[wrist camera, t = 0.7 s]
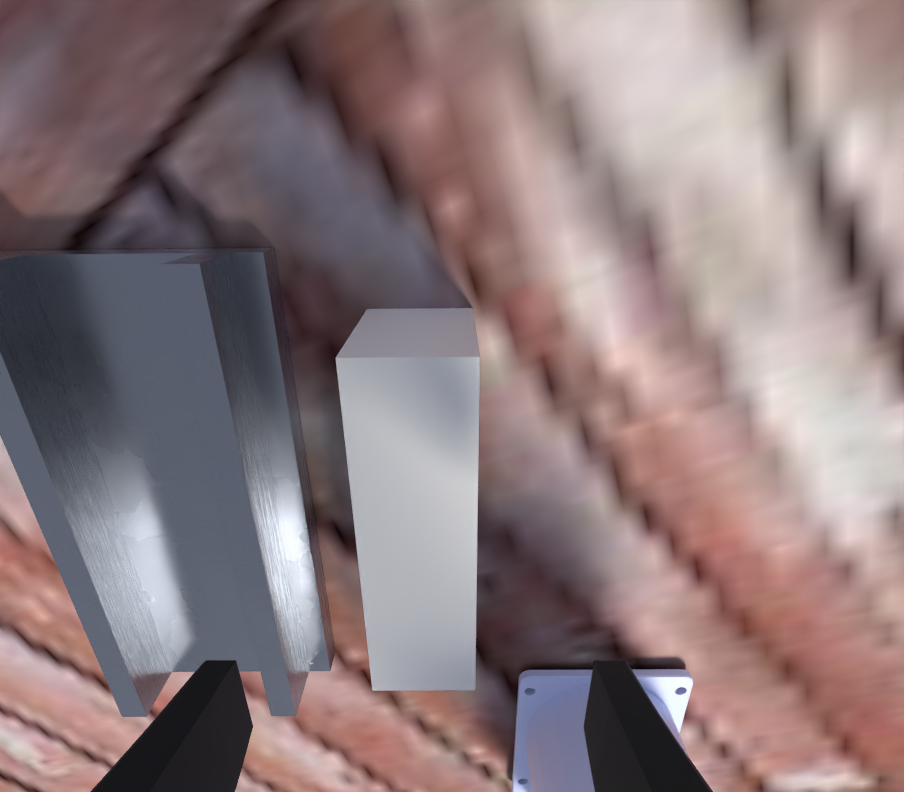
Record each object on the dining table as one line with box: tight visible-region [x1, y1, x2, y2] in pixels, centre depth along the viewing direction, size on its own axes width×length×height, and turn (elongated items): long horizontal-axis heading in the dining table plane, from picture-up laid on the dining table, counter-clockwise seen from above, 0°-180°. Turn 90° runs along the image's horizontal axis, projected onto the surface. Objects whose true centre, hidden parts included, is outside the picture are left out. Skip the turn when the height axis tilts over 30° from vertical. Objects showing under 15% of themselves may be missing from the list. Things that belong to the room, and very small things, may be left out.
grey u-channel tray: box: [0, 248, 335, 717], centre depth 18 cm, size 18×9×3 cm, turn 1°
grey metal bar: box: [336, 308, 480, 691], centre depth 17 cm, size 12×4×5 cm, turn 1°
